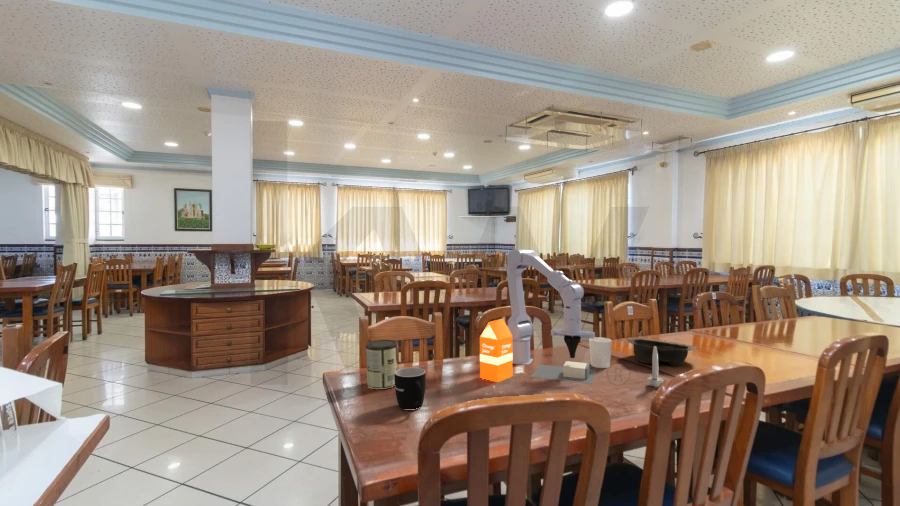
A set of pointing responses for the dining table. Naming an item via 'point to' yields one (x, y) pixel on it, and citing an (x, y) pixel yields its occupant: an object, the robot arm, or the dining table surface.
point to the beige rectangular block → (576, 370)
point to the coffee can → (381, 363)
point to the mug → (410, 387)
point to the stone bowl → (660, 351)
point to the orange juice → (496, 352)
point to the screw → (655, 370)
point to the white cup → (600, 352)
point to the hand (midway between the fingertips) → (572, 357)
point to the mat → (559, 374)
